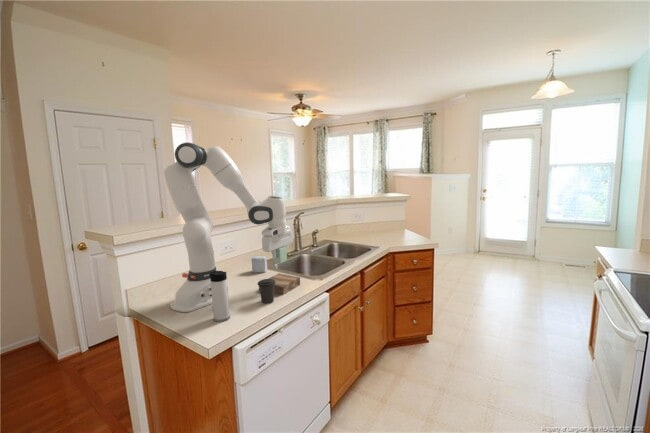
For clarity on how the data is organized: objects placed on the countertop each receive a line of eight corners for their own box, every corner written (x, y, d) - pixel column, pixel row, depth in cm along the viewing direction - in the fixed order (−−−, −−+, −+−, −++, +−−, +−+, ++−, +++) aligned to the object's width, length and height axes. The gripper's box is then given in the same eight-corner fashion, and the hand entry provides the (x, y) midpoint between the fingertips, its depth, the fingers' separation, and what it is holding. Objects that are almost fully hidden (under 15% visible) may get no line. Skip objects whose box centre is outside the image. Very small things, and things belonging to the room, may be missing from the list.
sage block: (280, 263, 147) (279, 249, 146) (273, 261, 149) (272, 248, 148) (287, 260, 151) (286, 246, 150) (279, 259, 154) (278, 245, 153)
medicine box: (267, 270, 180) (266, 256, 178) (265, 272, 175) (264, 258, 174) (254, 270, 180) (253, 256, 179) (252, 272, 176) (251, 258, 175)
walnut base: (283, 294, 143) (283, 286, 142) (261, 289, 150) (260, 282, 149) (300, 284, 155) (299, 277, 154) (278, 280, 162) (278, 273, 161)
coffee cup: (268, 306, 131) (266, 284, 129) (254, 302, 135) (253, 281, 133) (280, 299, 137) (279, 279, 136) (267, 296, 142) (266, 276, 140)
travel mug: (210, 320, 120) (205, 272, 117) (223, 313, 126) (219, 267, 123) (219, 324, 117) (215, 275, 114) (233, 317, 122) (229, 270, 119)
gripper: (285, 224, 158) (287, 250, 160) (258, 232, 141) (261, 260, 143) (295, 225, 155) (296, 251, 157) (269, 233, 138) (271, 262, 140)
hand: (279, 256), depth 150 cm, fingers closed on sage block, 5 cm apart
